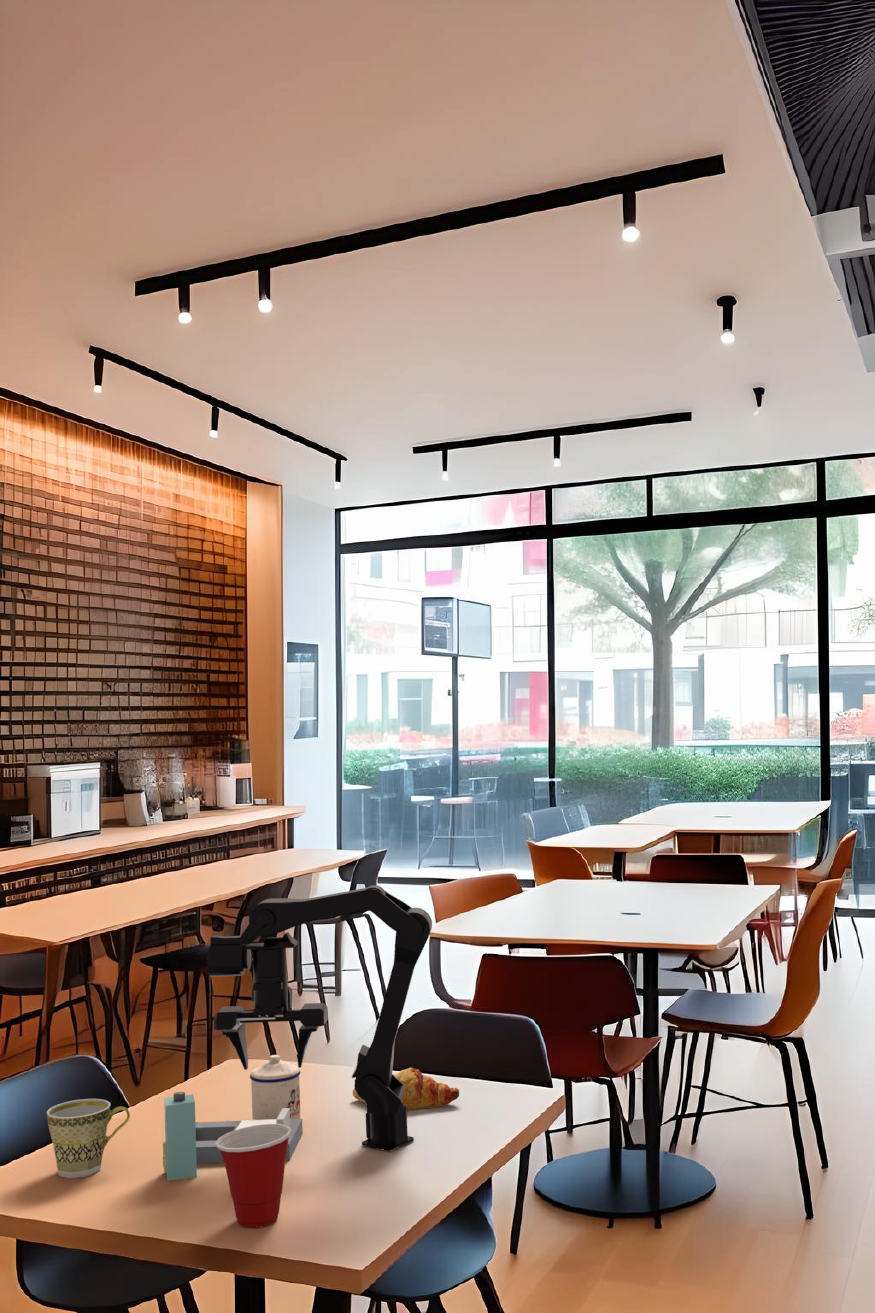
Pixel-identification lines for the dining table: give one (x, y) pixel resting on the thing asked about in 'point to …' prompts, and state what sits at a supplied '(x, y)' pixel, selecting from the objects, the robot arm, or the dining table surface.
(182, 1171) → the teal rectangular bottle
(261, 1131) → the plastic cup
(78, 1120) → the ceramic cup
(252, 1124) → the panel
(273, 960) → the robot arm
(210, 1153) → the socket plate
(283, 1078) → the teacup with lid
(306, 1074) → the dining table surface
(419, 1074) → the croissant
